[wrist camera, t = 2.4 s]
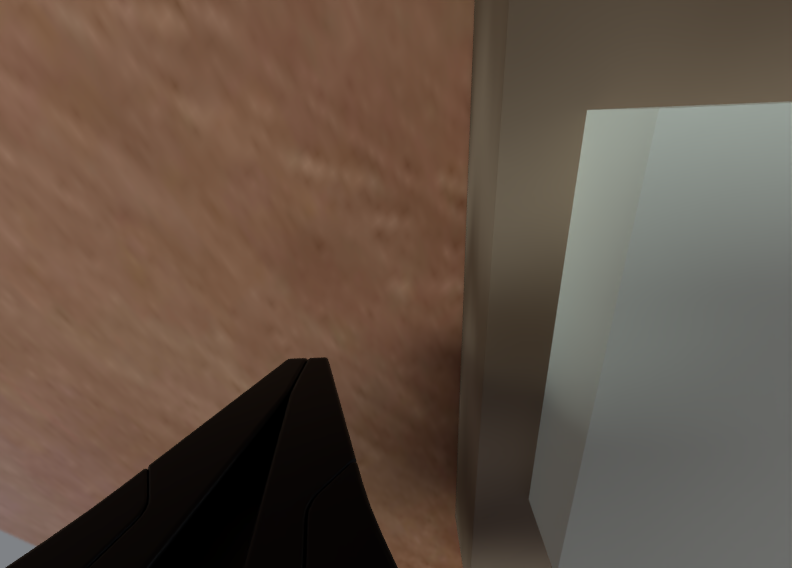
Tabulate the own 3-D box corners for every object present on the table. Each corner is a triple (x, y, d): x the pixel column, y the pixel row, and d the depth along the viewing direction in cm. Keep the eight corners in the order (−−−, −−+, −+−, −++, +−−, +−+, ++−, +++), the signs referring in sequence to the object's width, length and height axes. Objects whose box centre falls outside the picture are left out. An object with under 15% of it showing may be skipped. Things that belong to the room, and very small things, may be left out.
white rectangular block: (779, 492, 11) (858, 569, 9) (528, 499, 11) (555, 577, 9) (992, 93, 7) (1221, 84, 5) (587, 109, 7) (659, 108, 5)
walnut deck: (803, 506, 15) (891, 591, 13) (455, 516, 16) (468, 602, 13) (1217, -204, 7) (1714, -396, 5) (480, -168, 7) (531, -332, 5)
